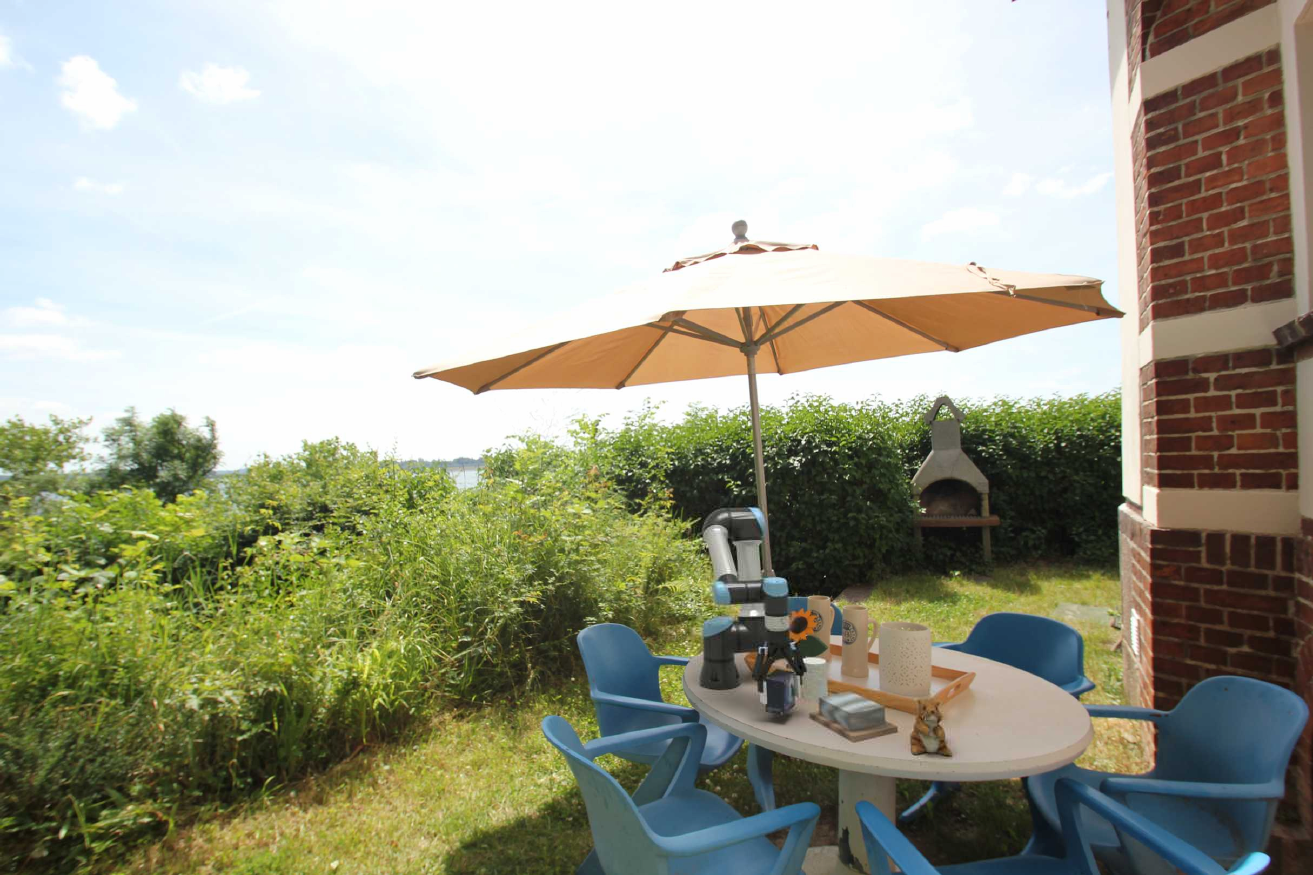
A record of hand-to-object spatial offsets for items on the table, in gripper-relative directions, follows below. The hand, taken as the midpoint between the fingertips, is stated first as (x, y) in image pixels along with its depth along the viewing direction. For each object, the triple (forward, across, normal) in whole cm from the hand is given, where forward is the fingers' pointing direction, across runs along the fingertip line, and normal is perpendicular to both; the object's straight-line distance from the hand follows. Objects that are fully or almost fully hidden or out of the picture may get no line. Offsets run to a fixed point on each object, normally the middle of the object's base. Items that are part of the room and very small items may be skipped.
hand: (780, 699), depth 180 cm
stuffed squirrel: (+5, +24, -34) cm, 42 cm away
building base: (+5, +16, -14) cm, 21 cm away
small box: (+3, 0, 0) cm, 3 cm away
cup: (+6, +21, +10) cm, 24 cm away
